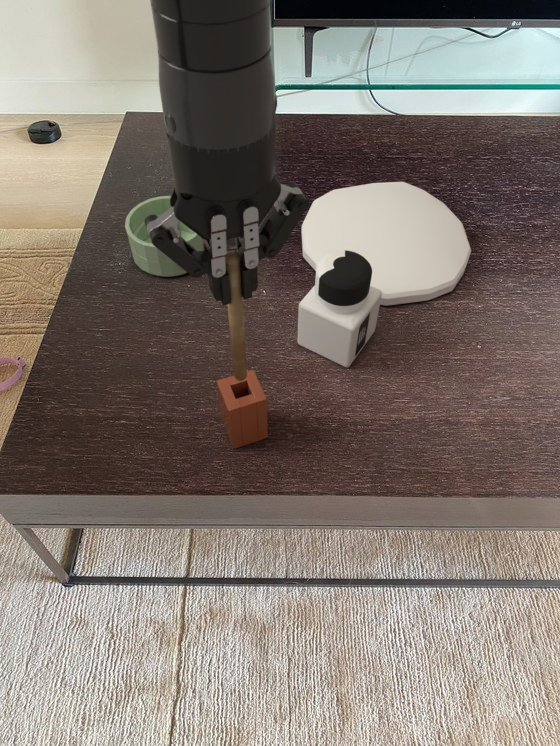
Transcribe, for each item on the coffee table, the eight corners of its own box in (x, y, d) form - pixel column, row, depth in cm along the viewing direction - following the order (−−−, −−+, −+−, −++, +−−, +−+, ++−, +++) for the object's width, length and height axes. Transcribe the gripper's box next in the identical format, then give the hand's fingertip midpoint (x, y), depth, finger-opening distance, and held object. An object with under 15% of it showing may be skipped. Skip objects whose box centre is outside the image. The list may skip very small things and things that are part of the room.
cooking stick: (236, 385, 65) (225, 260, 51) (232, 375, 66) (220, 249, 52) (249, 381, 65) (241, 256, 51) (244, 371, 66) (236, 245, 52)
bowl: (143, 287, 88) (135, 255, 83) (125, 238, 94) (117, 206, 89) (218, 267, 90) (215, 235, 85) (196, 221, 96) (192, 188, 92)
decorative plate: (283, 184, 95) (435, 163, 99) (283, 206, 99) (429, 185, 102) (327, 298, 81) (503, 269, 84) (325, 320, 84) (495, 291, 87)
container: (375, 331, 83) (389, 257, 72) (347, 369, 79) (358, 297, 68) (325, 308, 85) (332, 234, 75) (296, 344, 81) (298, 271, 71)
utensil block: (233, 449, 72) (228, 410, 65) (221, 420, 74) (216, 380, 68) (267, 437, 73) (266, 398, 66) (255, 409, 75) (253, 369, 69)
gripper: (293, 70, 45) (289, 250, 59) (108, 105, 42) (149, 287, 56) (335, 122, 41) (320, 304, 55) (133, 165, 38) (171, 346, 52)
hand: (234, 295), depth 55 cm, fingers closed on cooking stick, 1 cm apart
